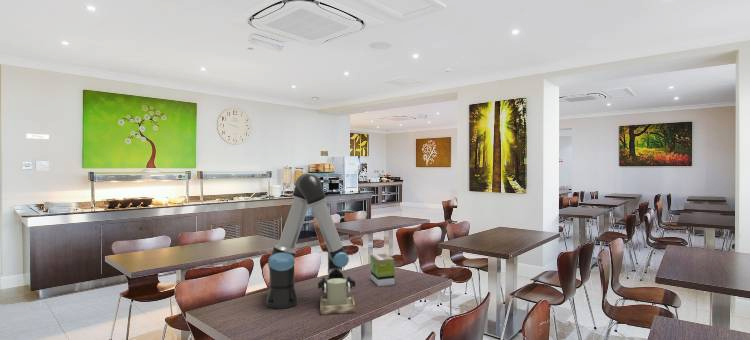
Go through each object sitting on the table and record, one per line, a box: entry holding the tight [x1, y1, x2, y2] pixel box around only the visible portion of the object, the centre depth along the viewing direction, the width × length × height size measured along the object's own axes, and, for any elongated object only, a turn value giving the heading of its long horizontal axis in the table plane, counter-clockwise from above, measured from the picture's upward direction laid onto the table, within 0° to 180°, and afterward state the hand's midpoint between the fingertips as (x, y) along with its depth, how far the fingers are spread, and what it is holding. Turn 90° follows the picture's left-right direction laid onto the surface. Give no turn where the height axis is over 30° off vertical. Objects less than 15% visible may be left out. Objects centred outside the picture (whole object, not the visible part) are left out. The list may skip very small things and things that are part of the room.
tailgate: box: [322, 296, 351, 301], centre depth 202 cm, size 16×4×1 cm, turn 97°
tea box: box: [369, 253, 396, 287], centre depth 234 cm, size 15×10×15 cm
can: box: [326, 278, 347, 306], centre depth 192 cm, size 9×9×12 cm
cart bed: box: [319, 294, 356, 315], centre depth 192 cm, size 16×16×4 cm
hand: (337, 289), depth 188 cm, fingers open, 10 cm apart
